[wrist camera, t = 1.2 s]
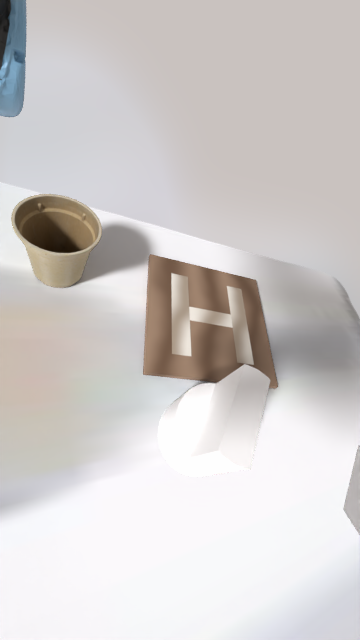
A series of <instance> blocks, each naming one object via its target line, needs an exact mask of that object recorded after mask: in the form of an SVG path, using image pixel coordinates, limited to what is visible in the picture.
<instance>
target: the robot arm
mask: <svg viewBox="0 0 360 640" xmlns="http://www.w3.org/2000/svg"><path fill="white" fill-rule="evenodd" d="M25 57H26V0H0V116H5V117H14V116H17V115H18V114H19V113H20V112H21V110H22V107H23V101H24V88H25ZM343 510H344V511H345V513H346V514H347V516H348V517H349V519H350V521H351V522H352V524H353V525H354V527H355V528H356V530H357V532H358V533H359V535H360V446H358V449H357V454H356V458H355V462H354V466H353V470H352V475H351V479H350V483H349V487H348V492H347V496H346V500H345V504H344V509H343Z"/></svg>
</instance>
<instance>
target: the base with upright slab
mask: <svg viewBox="0 0 360 640" xmlns="http://www.w3.org/2000/svg"><path fill="white" fill-rule="evenodd" d="M269 385H270V379H269V378H268V377H267V376H266V375H265V374H263V373H262V372H261V371H259V370H258V369H256V368H253V367H251V366H249V365H246V364H244V365H243V366H241V367H240V368H238V369H237V370H235V371H234V372H232V373H231V374H229V375H228V376H226V377H225V378H224V379H222V380H221V381H219V382H218V383H216V384H214V383H204V384H199V385H197V386H195V387H193V388H191V389H190V390H188V391H187V392H186V393H184V394H183V395H182V396H181V397H179V398H178V399H177V400H175V401H174V402H173V403H172V404H171V405H170V406H169V407H167V408H166V410H165V412H164V413H163V415H162V416H161V420H160V423H159V427H158V440H159V445H160V449H161V451H162V453H163V456H164V458H165V459H166V460H167V462H168V463H169V464H170V466H171V467H172V468H174V469H175V470H176V471H178V472H179V473H181V474H184V475H187V476H191V477H201V476H210V475H219V474H225V473H229V472H233V471H241V470H249V469H251V466H252V461H253V457H254V452H255V448H256V443H257V439H258V434H259V430H260V425H261V421H262V416H263V412H264V407H265V403H266V398H267V394H268V389H269Z"/></svg>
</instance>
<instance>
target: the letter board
mask: <svg viewBox="0 0 360 640" xmlns="http://www.w3.org/2000/svg"><path fill="white" fill-rule="evenodd" d="M244 364H246V365H249V366H251V367H253V368H256V369H258V370H259V371H261V372H262V373H263V374H265V375H266V376H267V377H268V378H269V379H270V385H269V388H274V389H275V388H277V387H278V384H277V379H276V374H275V370H274V365H273V360H272V355H271V350H270V345H269V341H268V336H267V331H266V326H265V321H264V317H263V312H262V307H261V302H260V297H259V293H258V288H257V283H256V280H253V279H249V278H245V277H241V276H237V275H233V274H229V273H225V272H221V271H217V270H213V269H209V268H204V267H200V266H196V265H192V264H188V263H184V262H180V261H176V260H172V259H168V258H164V257H159V256H155V255H151V254H150V256H149V264H148V285H147V306H146V326H145V347H144V368H143V375H152V376H161V377H171V378H180V379H190V380H199V381H208V382H219V381H221V380H222V379H224V378H225V377H226V376H228V375H229V374H231V373H232V372H234V371H235V370H237V369H238V368H240V367H241V366H243V365H244Z"/></svg>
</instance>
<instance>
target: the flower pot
mask: <svg viewBox="0 0 360 640" xmlns="http://www.w3.org/2000/svg"><path fill="white" fill-rule="evenodd" d="M11 221H12V226H13V229H14V231H15V233H16V235H17V236H18V237H19V238H20V240H21V241H22V242H23V244H24V245H25V247H26V250H27V253H28V256H29V259H30V262H31V265H32V268H33V272H34V274H35V276H36V277H37V278H38V279H39V280H40V281H42V282H43V283H44V284H46V285H48V286H51V287H57V288H63V287H69V286H71V285H73V284H74V283H76V282H77V281H79V280H80V278H81V276H82V273H83V270H84V268H85V265H86V262H87V259H88V257H89V254H90V252H91V251H92V250H93V248H94V247H95V246H96V245H97V244H98V242H99V240H100V238H101V235H102V226H101V223H100V221H99V219H98V217H97V216H96V214H95V213H94V212H93V211H92V210H91V209H90V208H89V207H87V206H86V205H84V204H83V203H81V202H79V201H77V200H75V199H72V198H69V197H65V196H61V195H54V194H40V195H35V196H31V197H28V198H26V199H24V200H22V201H21V202H19V203H18V204H17V205H16V206H15V208H14V209H13V212H12V217H11Z"/></svg>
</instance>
